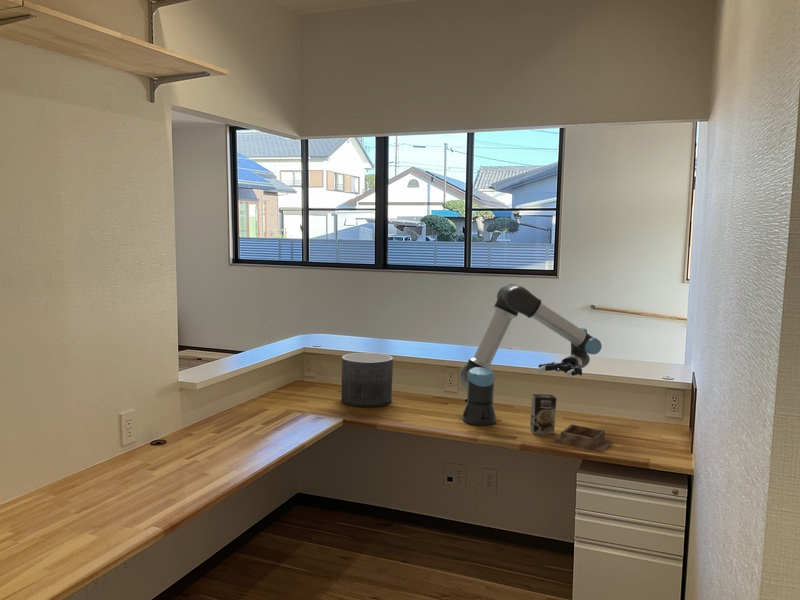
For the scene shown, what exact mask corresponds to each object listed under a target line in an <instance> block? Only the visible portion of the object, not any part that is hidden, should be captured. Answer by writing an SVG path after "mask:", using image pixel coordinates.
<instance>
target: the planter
mask: <svg viewBox="0 0 800 600" xmlns="http://www.w3.org/2000/svg"><path fill="white" fill-rule="evenodd" d="M393 365H394V357H393V356H391V355H389V354H384V353H380V352H379V353H377V352H353V353H347V354H344V355H342V356H341V399H340V400H341V402H342V403H343V404H345V405H347V406H352V407H359V408H376V407H382V406H387V405H389V404H390V403H391V402H392V396H393V394H392V393H393V374H394V373H393V372H394V370H393V367H394V366H393Z"/></svg>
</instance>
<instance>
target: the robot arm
mask: <svg viewBox="0 0 800 600" xmlns="http://www.w3.org/2000/svg"><path fill="white" fill-rule="evenodd" d="M493 308H494V314H493V315H492V318H491V320H490V322H489V324H488V326H487V329H486V330H485V333H484V335H482V339H481V341H480V343H479V345H478V348H477V349H476V352H475V354H474V356H473V357H470V358H469V359H468V362H467V364H466V365H464V366H463V367H462V368H461V370H460V373H459V378H460V383H461V384H462V386H463V387H464V388H465V389H466V390H467V393H466V394H467V398H466V405H465V407H464V411H463V413H462V421H463V422H464V423H465V424H469V425H474V426H491V425H494V424H496V423H497V414H496V411H495V408H494V389H495V388H494V387H495V386H494V385H495V373H494V371H493V368H492V362H493V361H494V358H495V356H496V354H497V352H498V350H499V348H500V345H501V343H502V341H503V339H504V337H505V335H506V333H507V331H508V329H509V326H510V325H511V321H512V320H513V319H514V318H517V316H518V315H519V314H522V315H523V316H525V317H526V318H529V319H532V318H533V319H534V320H536V321H537V322H538V323H540V324H542V325H543V326H545V327H546V328H548V329H550V330H551V331H553V332H554V333H555V334H557V335H559V336H560V337H562V338H564V339H565V340H566V341H568V342H570V355H569V356H567V357H565V358H563V359H561V361H560V362H557V363H556V362H554V361H553V362H549V363H542V364H538V367H537V375H541V374H544V373H545V372H547V371H549V372H550V371H556V372H564V373H566V379H570V378H572V377H574V376H578V375H579V376H583V369H584V368H586V367H587V366H588V365H589V363H590V362H591V358H590V355H597V354H598V353H600V352H601V350H602V347H603V346H602V342H601V341H600V340H599V339H598V338H596V337H594V336H592V335H591V334H589V333H588V329H587V328H584V327H578V326H577V325H575V324H573V323H572V322H571V321H569V320H568V319H566V318H565V317H563V316H562V315H560V314H559V313H557V312H556V311H554V310H552V309H551V308H549V307H547V306H546V305H545V304H543V302H542V300H541V299H540V298H538V297H537V296H535V295H534V294H533V293H532V292H531V291H529V290H528V289H527V288H525V287H523V286H521V285H517V284H514V283H511V284H510V283H509V284H505V285H503V286H501V287H500V288H499V290H498V291H497V295H496V301H495V304H494V306H493Z"/></svg>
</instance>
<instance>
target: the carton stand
mask: <svg viewBox="0 0 800 600" xmlns="http://www.w3.org/2000/svg"><path fill="white" fill-rule="evenodd" d="M553 441H555V442H554V443H558V442H559V444H562V443H564V444H563V445H567V444H569V446H573V447H577V448H581V449H587V450H591V451H595V452H601V453H603V452H604V451H606V449H607V448H608V447H609V446H610V445H611V444H612V443H613V440H612V439H607V438H606V430H605V429H603V430H602V429H597V428H593V427H588V426H582V425H577V424H570V425H568V426H567V427H566V428H564V429H563V430H562V431H561V432H560V434H558V435H556V437H554V438H553V440H552V442H553Z"/></svg>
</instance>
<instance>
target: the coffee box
mask: <svg viewBox="0 0 800 600" xmlns="http://www.w3.org/2000/svg"><path fill="white" fill-rule="evenodd" d="M556 407H557V397H555V396H554V394H541V393H540V394H539V393H538V394H537V393H532V399H531V412H530V413H531V414H530V424H529V425H530V426H529V428H530V429H529V430H530V432H531V433H532V432H533V433H532V434H533V435H550V434H554V435H555V428H556V427H555V426H556Z"/></svg>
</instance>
